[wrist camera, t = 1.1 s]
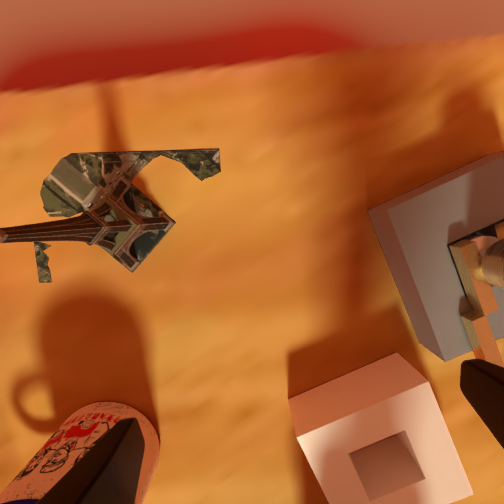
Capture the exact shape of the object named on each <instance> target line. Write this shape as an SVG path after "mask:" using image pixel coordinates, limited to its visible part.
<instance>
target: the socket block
mask: <svg viewBox="0 0 504 504" xmlns="http://www.w3.org/2000/svg"><path fill="white" fill-rule="evenodd" d="M367 212H368V214H369V217H370V219H371V222H372V224H373V227H374V229H375V232H376V235H377V237H378V240H379V242H380V245H381V247H382V250H383V252H384V255H385V257H386V260H387V262H388V265H389V267H390V270H391V272H392V275H393V277H394V280H395V282H396V285H397V288H398V290H399V293H400V295H401V298H402V300H403V303H404V305H405V308H406V310H407V313H408V315H409V318H410V320H411V323H412V325H413V328H414V330H415V333H416V336H417V338H418V341H419V343H421V344H422V345H423V346H425V347H426V348H427V349H429V350H430V351H431V352H433V353H434V354H435V355H437V356H438V357H439V358H441V359H442V360H443V361H445V362H446V361H449V360H451V359H453V358H456V357H458V356H460V355H463V354H465V353H467V352H470V351H472V350H473V349H472V347H471V344H470V341H469V338H468V336H467V333H466V330H465V328H464V325H463V322H462V319H461V317H460V316H461V315H463V314H466V313H468V312H470V311H472V308H471V306H470V303H469V300H468V297H467V294H466V292H465V289H464V286H463V283H462V280H461V278H460V277H458V275H457V272H456V269H455V267H454V264H453V261H452V258H451V256H450V253H449V250H448V247H447V244H449V243H451V242H453V241H455V240H458V239H460V238H462V237H464V236H467V235H469V234H471V233H473V232H474V234H475V235H484V236H492V237H496V238H498V237H497V234H496V231H495V228H494V226H495V225H498V224H500V223H502V222H504V151H502V152H498V153H494V154H490V155H487V156H485V157H483V158H481V159H478V160H476V161H474V162H472V163H470V164H467V165H465V166H463V167H461V168H459V169H457V170H454V171H452V172H450V173H448V174H446V175H444V176H441V177H439V178H437V179H435V180H433V181H430V182H428V183H426V184H424V185H422V186H420V187H417V188H415V189H413V190H411V191H409V192H406V193H404V194H402V195H400V196H398V197H396V198H393V199H391V200H389V201H387V202H385V203H382V204H380V205H378V206H376V207H374V208H372V209H369V210H367ZM490 285H491V284H490ZM491 288H492V291H493V294H494V297H495V299H496V302H497V305H498V308H499V310H497V311H495V312H493V313H490V314H488V315H486V316H487V319H488V322H489V325H490V328H491V330H492V333H493V336H494V339H495V340H498V339H500V338H502V337H504V289H502V288H499V287H495V286H493V285H491Z"/></svg>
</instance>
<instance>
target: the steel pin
mask: <svg viewBox="0 0 504 504" xmlns="http://www.w3.org/2000/svg"><path fill="white" fill-rule="evenodd" d="M462 240H468V241H476V244H477V247H478V250H479V253H480V256H481V259H482V273H483V275H484V277H485V279H486V280H487V281H488V282H489V283H490V284H491V285H493V286H495V287H499V288H502V289H504V239H501V240H498V238H496V237H492V236H484V235H472V234H469V235H467V236H464V237H462V238H460V239H458V240H455V241H453V242H451V243H449V244H447V247H448V250H449V253H450V256H451V258H452V261H453V264H454V267H455V269H456V272H457V275H458V276H460V275H459V272H458V269H457V267H456V264H455V261H454V258H453V255H452V253H451V250H450V247H449V246H451V245H453V244H455V243H457V242H459V241H462Z"/></svg>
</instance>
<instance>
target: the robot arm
mask: <svg viewBox="0 0 504 504" xmlns="http://www.w3.org/2000/svg"><path fill="white" fill-rule="evenodd" d="M460 388H461V391H462V393H463V395H464V396H465V397H466V399H467V400H468V401H469V403H470V404H471V406H472V407H473V408H474V410H475V411H476V412H477V414H478V415H479V416H480V418H481V419H482V420H483V422H484V423H485V424H486V426H487V427H488V428H489V430H490V431H491V433H492V434H493V435H494V437H495V438H496V439H497V441H498V442H499V443H500V445H501V446H502V447H503V448H504V367H501V366H498V365H496V364H493V363H490V362H487V361H485V360H482V359H471V360H465V361H463V362H462V364H461V375H460ZM144 450H145V440H144V437H143V434H142V431H141V428H140V425H139V422H138V420H137V418H135V417H131V418H125V419H121V420H119V421H118V422H117V423H116V424H115V425H114V426H113V427H112V428H111V429H110V430H109V431H108V432H107V433H106V434H105V435H104V436H103V437H102V438H101V439H100V440H99V441H98V442H97V443H96V444H95V445H94V446H93V447H92V448H91V449H90V450H89V451H88V452H87V453H86V454H85V455H84V456H83V457H82V458H81V459H80V460H79V461H78V462H77V463H76V464H75V465H74V466H73V467H72V468H71V469H70V470H69V471H68V472H67V473H66V474H65V475H64V476H63V477H62V478H61V479H60V480H59V481H58V482H57V483H56V484H55V485H54V486H53V487H52V488H51V489H50V490H49V491H48V492H47V493H46V494H45V495H44V496H43V497H42V498H41V499H40V500H39V501H38V502H37V503H36V504H135V498H136V493H137V488H138V482H139V477H140V472H141V466H142V461H143V456H144Z"/></svg>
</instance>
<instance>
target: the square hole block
mask: <svg viewBox="0 0 504 504" xmlns="http://www.w3.org/2000/svg"><path fill="white" fill-rule="evenodd" d="M288 401H289V406H290V410H291V415H292V419H293V424H294V429H295V433H296V438H297V440H298V442H299V444H300V446H301V448H302V450H303V452H304V454H305V456H306V458H307V460H308V462H309V464H310V466H311V468H312V470H313V472H314V474H315V476H316V478H317V480H318V482H319V484H320V486H321V488H322V490H323V492H324V494H325V496H326V498H327V501H328V503H329V504H451V503H453V502H455V501H458V500H460V499H463V498H465V497H468V496H470V495H473V494H474V493H473V491H472V488H471V486H470V483H469V481H468V478H467V476H466V473H465V471H464V468H463V466H462V463H461V461H460V458H459V456H458V453H457V451H456V448H455V446H454V443H453V441H452V438H451V436H450V433H449V431H448V428H447V426H446V423H445V421H444V418H443V416H442V413H441V411H440V408H439V406H438V403H437V401H436V398H435V396H434V393H433V391H432V388H431V386H430V383H429V381H428V380H427V379H426V378H425V377H423V376H422V375H421V374H420V373H419V372H418V371H417V370H416V369H415V368H414V367H413V366H411V365H410V364H409V363H408V362H407V361H406V360H405V359H404V358H403V357H402V356H401V355H400V354H398V353H397V352H396V353H394V354H392V355H389V356H387V357H385V358H382V359H380V360H378V361H376V362H373V363H371V364H369V365H366V366H364V367H362V368H359V369H357V370H355V371H352V372H350V373H348V374H345V375H343V376H341V377H339V378H336V379H334V380H332V381H329V382H327V383H325V384H322V385H320V386H318V387H315V388H313V389H311V390H309V391H306V392H304V393H302V394H299V395H297V396H295V397H292V398H290V399H288ZM394 434H396V435H394ZM392 435H394V436H392ZM389 436H392V437H389ZM387 437H389V438H387ZM385 438H387V439H385ZM382 439H385V440H382ZM380 440H382V441H380ZM377 441H380V442H378V443H375V442H377ZM373 443H375V444H373ZM370 444H373V445H370ZM368 445H370V446H368ZM366 446H368V447H366ZM363 447H366V448H363ZM361 448H363V449H361ZM358 449H361V450H358ZM356 450H358V451H356ZM354 451H356V452H354ZM351 452H354V453H351ZM349 453H351V454H349Z"/></svg>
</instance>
